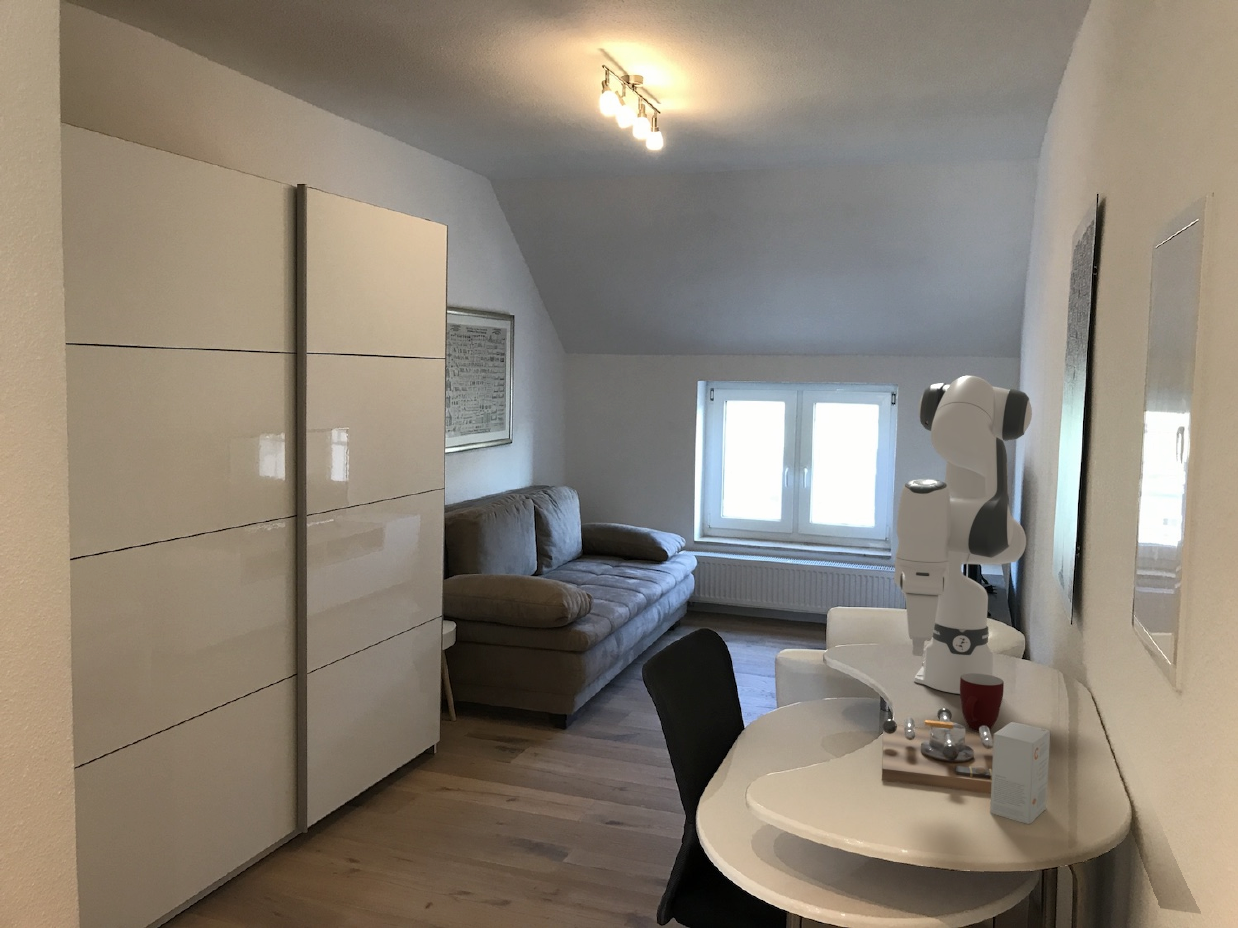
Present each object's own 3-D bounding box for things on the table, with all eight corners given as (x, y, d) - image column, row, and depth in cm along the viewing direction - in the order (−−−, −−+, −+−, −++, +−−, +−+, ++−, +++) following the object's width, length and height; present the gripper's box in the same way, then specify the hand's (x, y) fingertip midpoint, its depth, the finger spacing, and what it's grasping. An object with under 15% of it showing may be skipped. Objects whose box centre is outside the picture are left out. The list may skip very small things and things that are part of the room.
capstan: (881, 723, 191) (883, 697, 191) (1006, 736, 185) (1008, 710, 185) (880, 765, 170) (882, 737, 169) (1022, 782, 164) (1023, 752, 163)
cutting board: (883, 733, 192) (883, 715, 192) (1003, 746, 186) (1004, 728, 186) (881, 779, 169) (882, 759, 169) (1019, 796, 163) (1021, 776, 163)
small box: (1006, 797, 163) (1011, 720, 162) (1047, 809, 159) (1051, 729, 158) (988, 813, 157) (992, 732, 156) (1029, 825, 153) (1034, 742, 152)
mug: (993, 742, 188) (996, 691, 188) (950, 733, 193) (952, 683, 192) (1004, 727, 197) (1007, 677, 197) (963, 718, 202) (965, 670, 201)
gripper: (901, 563, 181) (898, 637, 182) (902, 584, 161) (898, 667, 162) (937, 565, 179) (934, 640, 180) (943, 587, 159) (939, 671, 160)
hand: (917, 653), depth 171 cm, fingers closed
